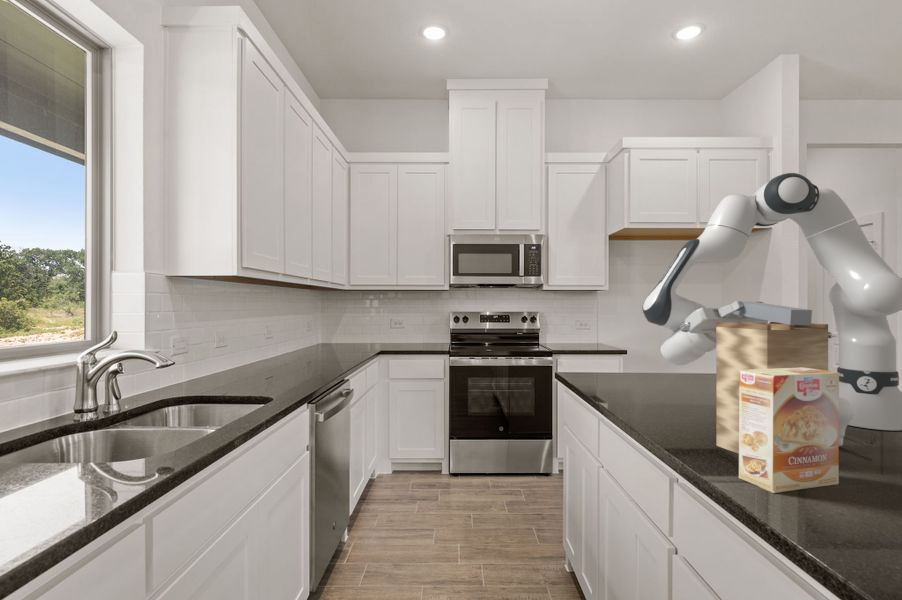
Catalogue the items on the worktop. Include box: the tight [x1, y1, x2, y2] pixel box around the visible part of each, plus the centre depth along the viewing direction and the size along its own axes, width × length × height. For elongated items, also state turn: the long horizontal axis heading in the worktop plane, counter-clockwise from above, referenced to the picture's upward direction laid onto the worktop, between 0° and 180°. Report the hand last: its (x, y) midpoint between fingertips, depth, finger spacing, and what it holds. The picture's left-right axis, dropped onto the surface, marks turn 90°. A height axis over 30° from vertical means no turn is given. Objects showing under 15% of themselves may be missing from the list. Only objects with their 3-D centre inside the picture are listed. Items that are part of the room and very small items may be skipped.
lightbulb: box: [839, 397, 854, 447], centre depth 100 cm, size 6×6×11 cm
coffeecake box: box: [738, 367, 840, 494], centre depth 81 cm, size 15×7×20 cm, turn 105°
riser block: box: [715, 321, 829, 455], centre depth 98 cm, size 12×16×27 cm
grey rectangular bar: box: [732, 300, 813, 325], centre depth 101 cm, size 20×4×3 cm, turn 178°
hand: (751, 303), depth 107 cm, fingers closed on grey rectangular bar, 5 cm apart
